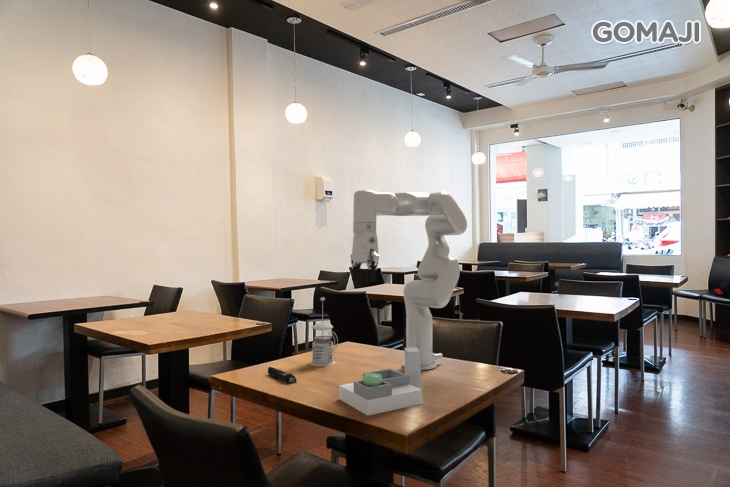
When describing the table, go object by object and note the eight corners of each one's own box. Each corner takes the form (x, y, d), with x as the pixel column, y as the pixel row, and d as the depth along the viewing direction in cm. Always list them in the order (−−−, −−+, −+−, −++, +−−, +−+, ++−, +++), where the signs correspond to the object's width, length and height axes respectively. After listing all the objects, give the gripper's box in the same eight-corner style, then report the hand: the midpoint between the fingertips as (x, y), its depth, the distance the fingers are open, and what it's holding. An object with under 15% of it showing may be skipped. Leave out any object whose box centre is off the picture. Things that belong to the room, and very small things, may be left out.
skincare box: (404, 384, 155) (404, 347, 155) (417, 384, 155) (417, 347, 155) (407, 390, 149) (407, 351, 149) (421, 390, 149) (421, 351, 149)
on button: (375, 381, 136) (375, 372, 136) (385, 386, 132) (385, 376, 132) (360, 384, 134) (360, 374, 134) (369, 389, 129) (369, 379, 129)
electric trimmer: (274, 374, 170) (274, 365, 170) (297, 383, 158) (297, 373, 158) (265, 376, 168) (265, 367, 168) (287, 385, 156) (287, 375, 156)
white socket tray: (390, 389, 150) (390, 366, 150) (422, 403, 137) (422, 378, 137) (339, 399, 141) (339, 374, 141) (367, 415, 127) (367, 389, 127)
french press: (321, 358, 190) (321, 295, 190) (344, 363, 184) (344, 297, 184) (304, 364, 182) (304, 297, 183) (327, 368, 176) (327, 299, 176)
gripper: (388, 228, 152) (387, 282, 152) (362, 230, 167) (361, 279, 167) (367, 227, 148) (366, 283, 148) (342, 229, 164) (341, 280, 163)
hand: (363, 281), depth 157 cm, fingers open, 9 cm apart
